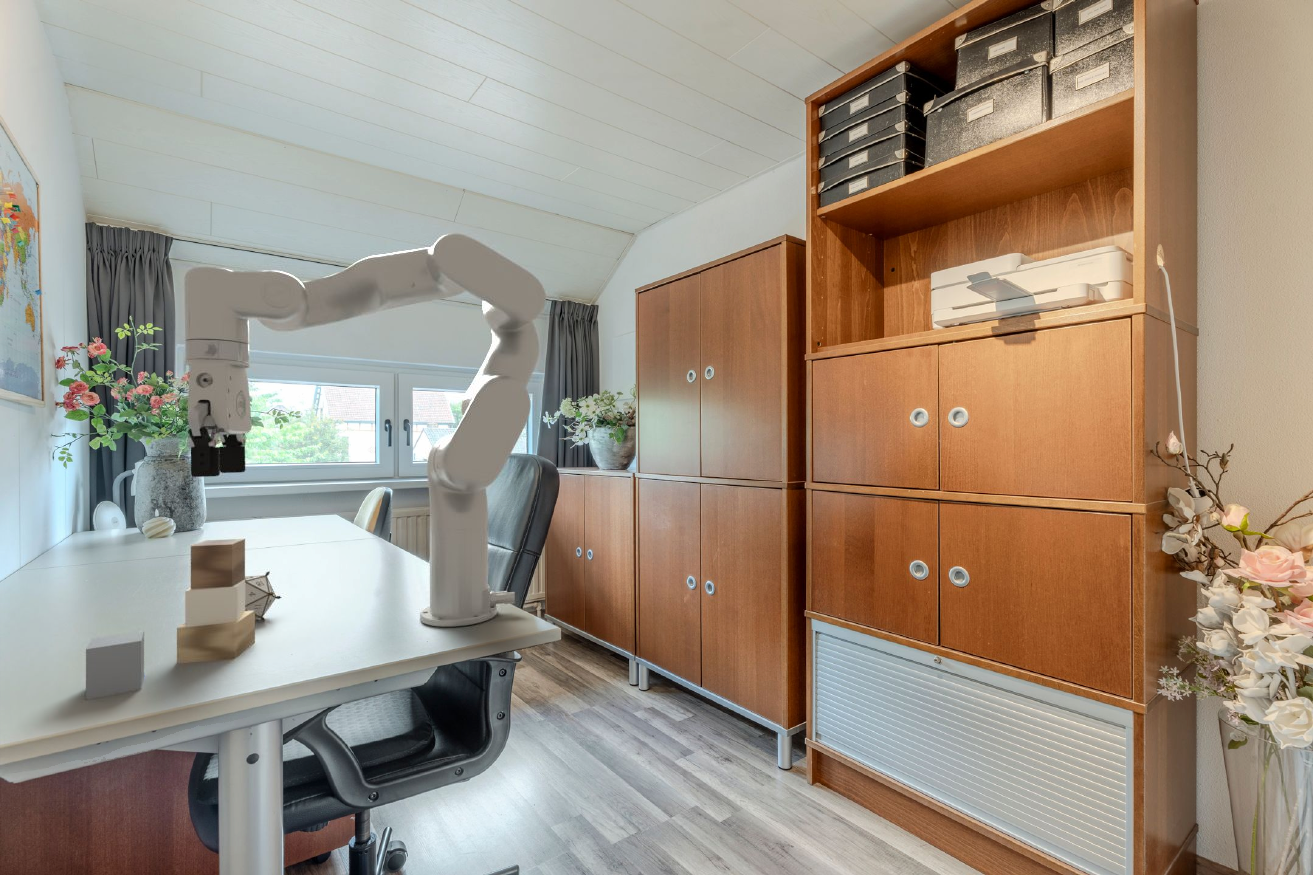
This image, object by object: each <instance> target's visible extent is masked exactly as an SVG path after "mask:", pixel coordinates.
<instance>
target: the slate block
mask: <svg viewBox="0 0 1313 875" xmlns="http://www.w3.org/2000/svg"><path fill="white" fill-rule="evenodd" d="M144 679H145V630H138V631H132V632H126V633H120V634H119V633H118V634H114V635H113V634H112V635H105V636H98V637H92V638H91V639H90V641H89V643H88V645H87V646H86V649H85V701H86V700H92V699H96V698H97V699H98V698H103V697H108V696H112V695H119V694H123V693H128V692H129V693H130V692H134V691H139V690H142V688H143V683H144Z"/></svg>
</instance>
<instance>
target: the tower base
mask: <svg viewBox="0 0 1313 875" xmlns="http://www.w3.org/2000/svg"><path fill="white" fill-rule="evenodd" d="M255 622H256V619H255V610H254V611H245V612H244V613H243V615H242V616H241V618H240V619H239V620H238V622H231V623H221V624H212V625H203V626H193V627H185V622H184V623H182V624H181V625H179V626H177V627H176V664H185V663H196V662H197V663H199V662H208V661H209V662H210V661H221V660H222V661H225V660H234V659H237V658H238V657H239V656H240V655H241V654H242V653H244V652H245V651H246V650H247V649H249V648H250V647H251V646H253V645H254V644H255V642H256V636H255V635H256V624H255Z"/></svg>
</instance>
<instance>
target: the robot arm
mask: <svg viewBox="0 0 1313 875" xmlns="http://www.w3.org/2000/svg"><path fill="white" fill-rule="evenodd" d="M183 286H184V287H183V288H184V329H185V330H184V335H185V336H184V338H185V339H184V342H185V343H184V344H185V345H184V346H185V349H184V352H185V353H184V354H185V365H186V366H189V368H190V369H189V379H188V392H187V394H188V395H187V396H188V397H187V413H188V414H187V416H186V417H187V421H188V427H189V429H188V435H189V436H190V438H189V447H190V475H191V477H193V478H199V477H201V478H202V477H203V478H204V477H205V478H207V477H219V476H220V473H222V474H233V473H236V474H237V473H239V474H240V473H244V472H245V471H246V438H245V435H246V434H248V433H249V432H250V431H251V430H252V414H251V413H252V412H251V399H250V387H249V379H248V374H247V370H246V369H249V368H250V319H257V320H258V321H259V322H260V324H262V325H263V326H264V327H266V328H268V329H270V330H273V331H276V332H286V333H287V332H294V331H300V330H305V329H310V328H314V327H320V326H325V325H330V324H334V323H339V322H342V321H346V320H350V319H355V318H358V317H362V316H363V317H364V316H367V315H373V314H376V313H378V312H382V311H385V310H391V309H396V308H399V307H405V306H409V305H416V304H420V303H425V302H431V301H436V300H442V299H446V298H451V297H455V296H459V295H461V294H463V293H465V292H467V293H469V294H470V295H472V296H474V297H476V298H477V299H479V300H481V301H482V311H483V312H482V313H483V316H484V319H485V320H486V323H487V324H488V326H489V329H490V332H491V337H492V341H491V342H492V343H491V346H490V349H489V351H488V353H487V355H486V357H485V359H484V361H483V363H482V365H481V366H480V368H479V371H478V372H477V374H476V376H475V377H474V379H473V381H472V382H471V385H470V386H469V387H468V389H467V390H466V392H465V394H464V396H463V398H462V400H461V406H460V407H461V408H460V409H461V414H462V418H461V420H460V422H459V424H458V425H457V427H456V429H455V431H454V432H453V433H450V434H447V435H445V436H442V437H441V438H439V439H438V440H437V441H436V442H435V443H434V445H432V447H431V449H430V452H429V453H428V457H427V466H426V467H427V468H426V471H427V472H426V473H427V474H426V475H427V483H428V484H427V486H428V493H429V494H428V495H429V496H428V498H429V606H428V607H425V608H424V609H423V610H421V612H420V613H419V620H420V622H421V623H423V624H425V625H427V626H433V627H441V628H442V627H445V628H446V627H447V628H448V627H449V628H450V627H464V626H469V625H475V624H480V623H483V622H486V621H488V620H490V619H493V618H495V616H496V615H497V614H498V606H497V605H501V604H502V605H503V604H504V605H509V604H515V602H516V595H515V594H516V593H515V591H512V592H511V591H510V592H508V591H507V590H501V591H494V590H491V588H490V584H488V583H489V582H488V581H489V577H488V576H489V567H488V566H489V561H488V560H489V556H488V555H489V554H488V553H489V551H488V549H489V548H488V546H489V544H488V543H489V542H488V540H489V538H488V536H489V534H488V533H489V531H488V527H489V526H488V525H489V511H488V510H489V509H488V508H489V506H488V497H487V496H488V495H487V488H488V487H489V486H491V485H492V484H493V483H494V482H495V480H496V479H497V478H498V477H499V475H500V474H501V472H502V471H503V469H504V468H505V465H506V463H507V462H508V460H509V458H510V456H511V455H512V452H513V450H514V448H515V446H516V444H517V443H518V440H519V439H520V436H521V435H522V432H523V431H524V428H525V426H526V425H527V422H528V420H529V417H530V412H531V397H530V393H529V390H527V386H528V384H529V381H530V379H531V377H532V376H533V373H534V371H535V368H536V366H537V363H538V361H539V356H540V343H539V336H538V332H537V329H536V326H535V323H534V321H535V320H536V319H537V318H538V317H540V316H541V314H543V312H544V310H545V306H546V303H547V297H546V296H547V294H546V291H545V288H544V287H543V284H542V283H541V281H540V280H539V279H538V278H537V277H536V275H534V274H532V273H531V272H530V271H528V270H526V269H525V268H523V267H522V266H521V265H519V264H517V263H515V262H513V261H512V260H510V259H508V258H507V257H505V256H504V255H502V254H500V253H498V252H497V251H495V250H494V249H492V248H491V247H489V246H487V245H485V244H483V243H482V242H481V241H478V240H476V239H475V238H472V237H470V236H468V235H465V234H461V233H457V232H456V233H448V234H444V235H442V236H441V237H439V238H438V239H437V240H436V242H435V243H434V244H433V245H432V246H431V247H422V248H416V249H411V250H403V251H396V252H392V253H385V254H377V255H371V256H368V257H365V258H362V259H360V260H358V261H356V262H355V263H353V264H351V265H350V266H348V267H346V268H345V269H343V270H341V271H339V272H336V273H333V274H331V275H327V276H325V277H321V278H316V279H310V280H304V281H300V280H299V279H298V278H297V277H295V276H294V275H293V274H290V273H287V272H284V271H280V270H251V271H250V270H249V271H247V270H246V271H240V270H239V271H237V270H232V269H231V270H230V269H227V268H222V267H214V266H213V267H212V266H197V267H192V268H190V269H188V270H187V271H186V272H185V276H184V285H183ZM219 439H220V442H221V445H222V446H217V444H218V441H219Z"/></svg>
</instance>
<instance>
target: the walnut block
mask: <svg viewBox="0 0 1313 875" xmlns="http://www.w3.org/2000/svg"><path fill="white" fill-rule="evenodd" d="M245 577H246V538H235V539H233V538H232V539H231V538H230V539H212V540H210V539H209V540H207V539H206V540H203V541H201V542H198V543H196V544H193V545H192V544H191V545H190V587H191V589H203V588H219V587H233V586H234V585H236V584H238V583H239V582H241V581H242V580H244V579H245Z"/></svg>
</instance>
